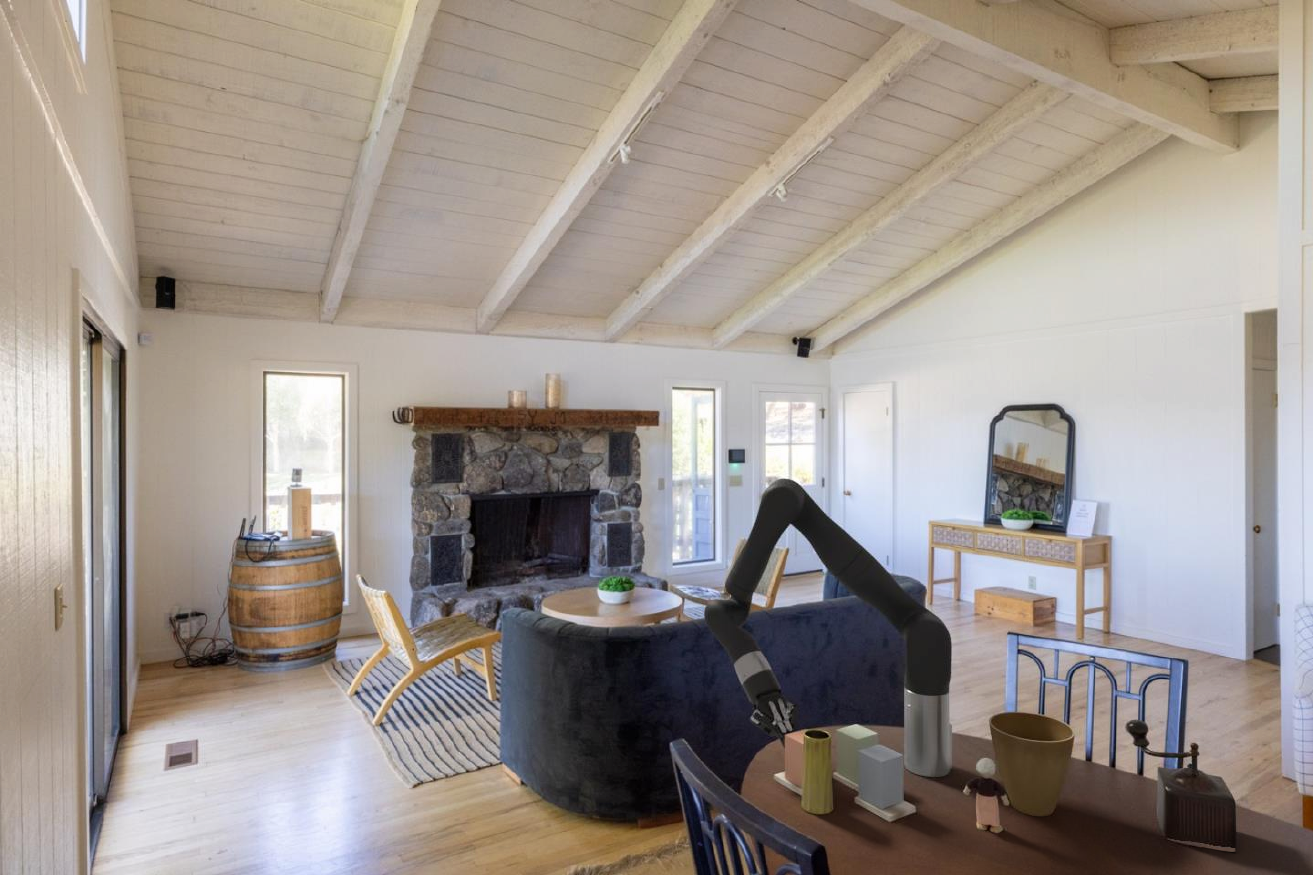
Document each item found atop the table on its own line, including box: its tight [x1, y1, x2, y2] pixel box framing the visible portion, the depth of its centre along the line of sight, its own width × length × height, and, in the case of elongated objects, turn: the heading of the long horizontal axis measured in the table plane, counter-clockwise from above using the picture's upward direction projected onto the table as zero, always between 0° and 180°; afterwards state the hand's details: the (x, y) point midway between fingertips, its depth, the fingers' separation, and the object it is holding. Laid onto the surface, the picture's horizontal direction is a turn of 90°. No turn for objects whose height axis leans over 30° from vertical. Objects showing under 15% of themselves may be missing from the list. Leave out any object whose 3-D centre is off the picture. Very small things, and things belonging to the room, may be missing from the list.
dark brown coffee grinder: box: [1125, 719, 1237, 849], centre depth 138 cm, size 16×11×18 cm
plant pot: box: [988, 711, 1076, 817], centre depth 146 cm, size 15×15×16 cm
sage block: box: [835, 723, 879, 783], centre depth 158 cm, size 6×6×9 cm
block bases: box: [773, 770, 917, 823], centre depth 152 cm, size 18×25×1 cm
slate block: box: [857, 743, 905, 809], centre depth 147 cm, size 6×6×9 cm
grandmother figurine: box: [962, 757, 1010, 834], centre depth 139 cm, size 8×4×13 cm, turn 71°
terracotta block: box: [784, 728, 809, 788], centre depth 155 cm, size 6×6×9 cm
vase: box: [800, 728, 834, 816], centre depth 146 cm, size 6×6×14 cm
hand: (793, 751), depth 158 cm, fingers closed
